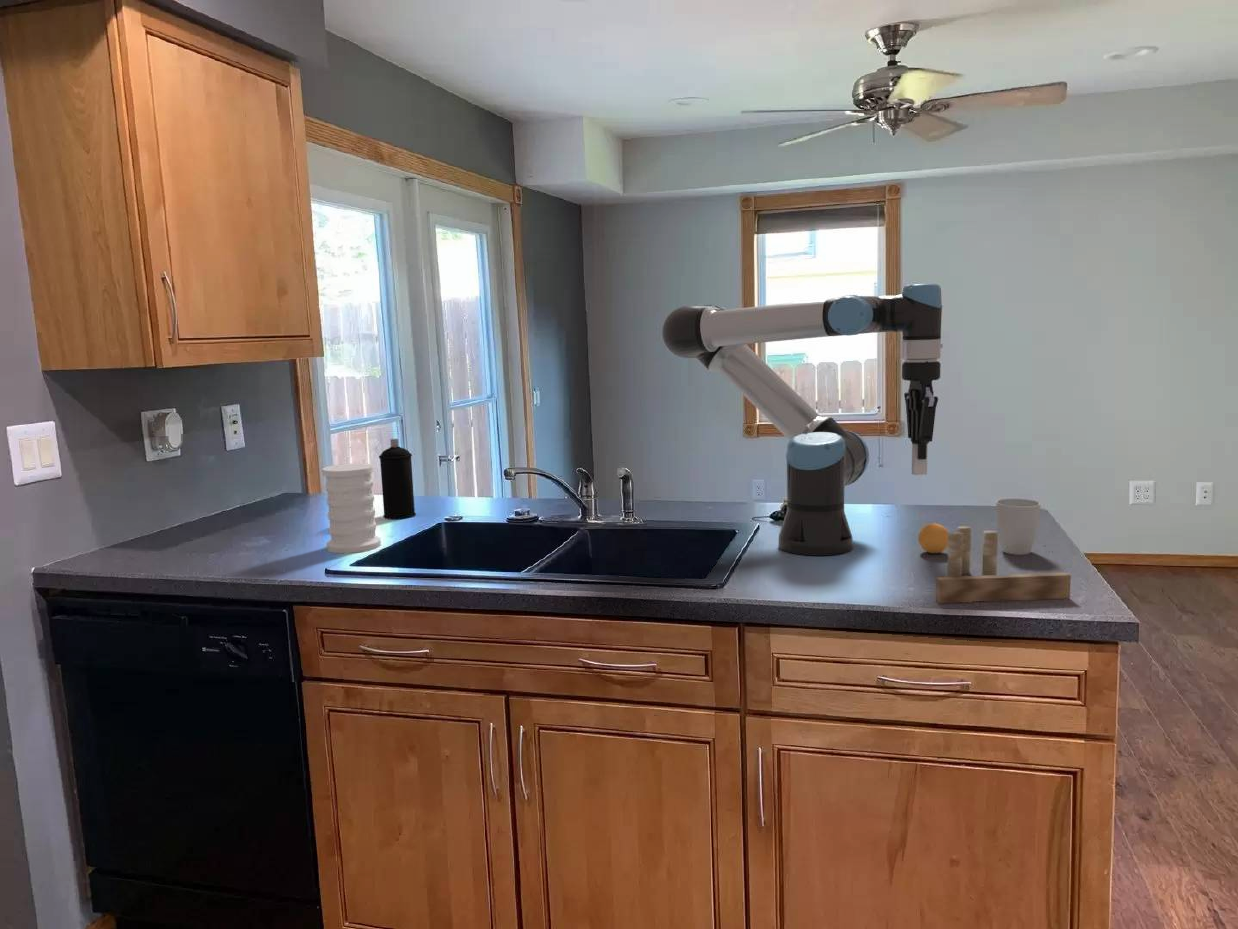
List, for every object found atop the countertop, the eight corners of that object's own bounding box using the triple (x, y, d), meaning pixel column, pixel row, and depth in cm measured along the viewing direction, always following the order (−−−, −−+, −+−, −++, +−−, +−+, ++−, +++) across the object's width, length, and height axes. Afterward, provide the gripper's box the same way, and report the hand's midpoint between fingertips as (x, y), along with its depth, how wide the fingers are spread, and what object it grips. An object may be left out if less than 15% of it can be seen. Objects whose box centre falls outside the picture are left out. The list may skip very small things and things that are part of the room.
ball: (924, 557, 181) (924, 527, 180) (913, 549, 187) (914, 521, 186) (954, 556, 181) (955, 526, 180) (942, 548, 187) (943, 519, 186)
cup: (1044, 550, 183) (1046, 501, 182) (1030, 558, 177) (1032, 508, 176) (1003, 544, 189) (1005, 497, 187) (988, 552, 183) (989, 503, 181)
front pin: (958, 574, 168) (960, 529, 167) (953, 571, 171) (955, 526, 169) (971, 574, 168) (973, 529, 167) (966, 570, 171) (967, 526, 169)
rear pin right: (950, 581, 164) (951, 535, 163) (945, 577, 167) (946, 532, 165) (963, 580, 164) (964, 534, 163) (958, 577, 167) (959, 531, 165)
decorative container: (369, 538, 211) (364, 461, 209) (388, 547, 202) (383, 467, 199) (319, 546, 205) (313, 467, 202) (337, 556, 195) (330, 473, 193)
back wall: (939, 603, 152) (940, 580, 151) (935, 600, 154) (936, 577, 153) (1069, 598, 153) (1070, 575, 152) (1064, 595, 154) (1065, 572, 154)
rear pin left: (985, 580, 164) (987, 533, 163) (979, 576, 167) (981, 530, 165) (998, 579, 164) (1000, 533, 163) (992, 575, 167) (994, 530, 165)
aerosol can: (411, 519, 231) (406, 440, 227) (379, 520, 231) (373, 441, 228) (419, 512, 239) (414, 436, 236) (387, 513, 239) (382, 437, 236)
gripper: (951, 361, 181) (949, 478, 184) (927, 358, 194) (925, 468, 197) (914, 362, 181) (912, 480, 184) (892, 359, 193) (891, 469, 197)
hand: (919, 474), depth 191 cm, fingers closed
